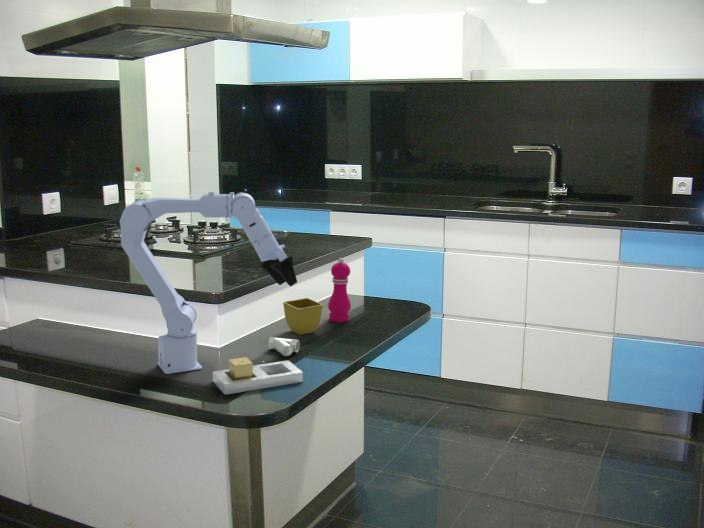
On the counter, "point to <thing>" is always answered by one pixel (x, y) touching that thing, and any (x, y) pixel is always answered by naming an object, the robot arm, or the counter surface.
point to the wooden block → (240, 369)
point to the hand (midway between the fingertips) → (288, 283)
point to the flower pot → (302, 315)
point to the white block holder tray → (259, 377)
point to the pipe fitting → (283, 345)
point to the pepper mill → (339, 293)
